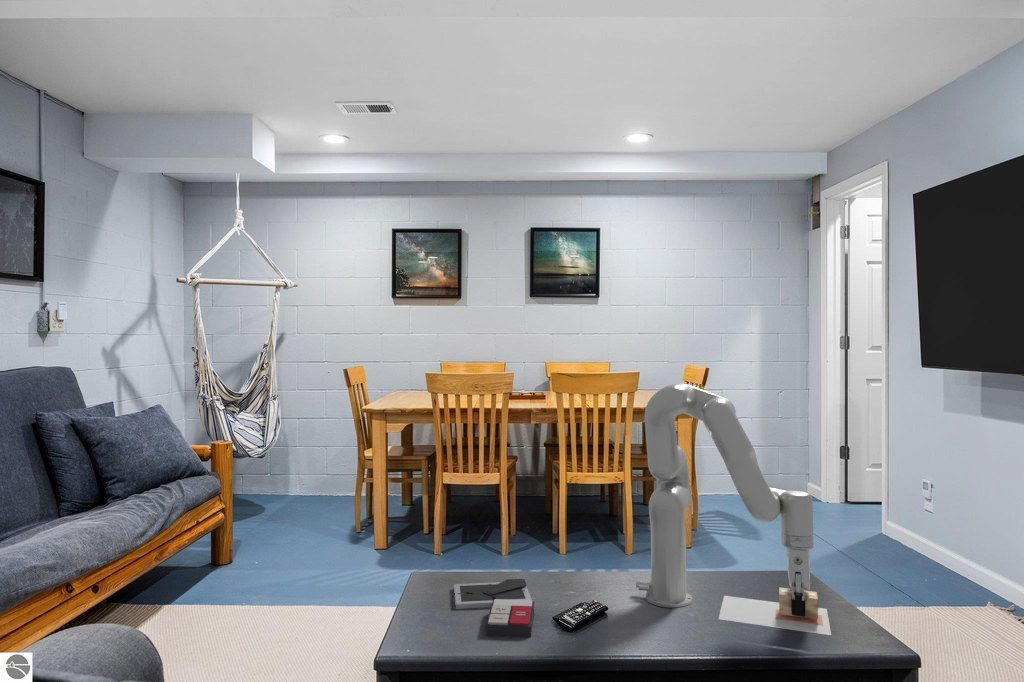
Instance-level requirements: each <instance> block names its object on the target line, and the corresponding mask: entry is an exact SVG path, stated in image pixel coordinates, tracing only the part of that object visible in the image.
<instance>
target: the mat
mask: <svg viewBox="0 0 1024 682" xmlns="http://www.w3.org/2000/svg"><path fill="white" fill-rule="evenodd" d="M828 613H829V612H828V609H827V608H823V607H818V619H812V618H805V617H797V616H790V615H783V614H779V601H778V602H776V601H769V600H760V599H755V598H754V599H753V598H745V597H737V596H730V595H723V599H722V603H721V607H720V611H719V615H718V620H719V621H720V620H721V621H725V622H726V621H727V622H734V623H742V624H747V625H755V626H763V627H769V628H775V629H776V628H777V629H783V630H791V631H798V632H805V633H812V634H819V635H825V636H832V632H831V624H830V619H829V615H828Z"/></svg>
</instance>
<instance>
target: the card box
mask: <svg viewBox="0 0 1024 682" xmlns="http://www.w3.org/2000/svg"><path fill="white" fill-rule="evenodd" d="M778 590H779V591H778V597H779V598H778V603H779V614H783V615H790V616H795V615H792V604H791V598H792V588H789V587H778ZM795 591H796V589H795ZM801 592H802V590H801ZM792 599H793V598H792ZM804 600H805V618H812V619H818V608H819V598H818V592H817V591H812V590H805V589H804ZM797 617H803V616H797Z"/></svg>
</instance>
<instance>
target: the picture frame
mask: <svg viewBox="0 0 1024 682" xmlns="http://www.w3.org/2000/svg"><path fill="white" fill-rule="evenodd" d="M453 593H455V595H454V603H455V606H456V607H455V610H456V609H457V610H465V609H464V608H478V609H482V608H481V607H491V605H492V602H493V600H495V599H508V600H532V601H533V599H532V597H531V594H530V592H529V590H528V586H527V583H526V579H525V578H511V579H509V578H508V579H506V580H503V581H500V582H498V581H497V582H477V583H475V582H473V583H454V584H453Z"/></svg>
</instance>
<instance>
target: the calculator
mask: <svg viewBox="0 0 1024 682" xmlns="http://www.w3.org/2000/svg"><path fill="white" fill-rule="evenodd" d="M489 609H490V610H489V613H488V617H487V620H486V623H485V636H486V635H487V636H486V637H505V636H509V637H511V638H512V637H513V638H514V637H515V638H531V637H532V634H533V633H532V632H533V625H534V619H535V601H534V600H533V599H532V600H508V599H495V600H493V602H492V605H491V608H489Z"/></svg>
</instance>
